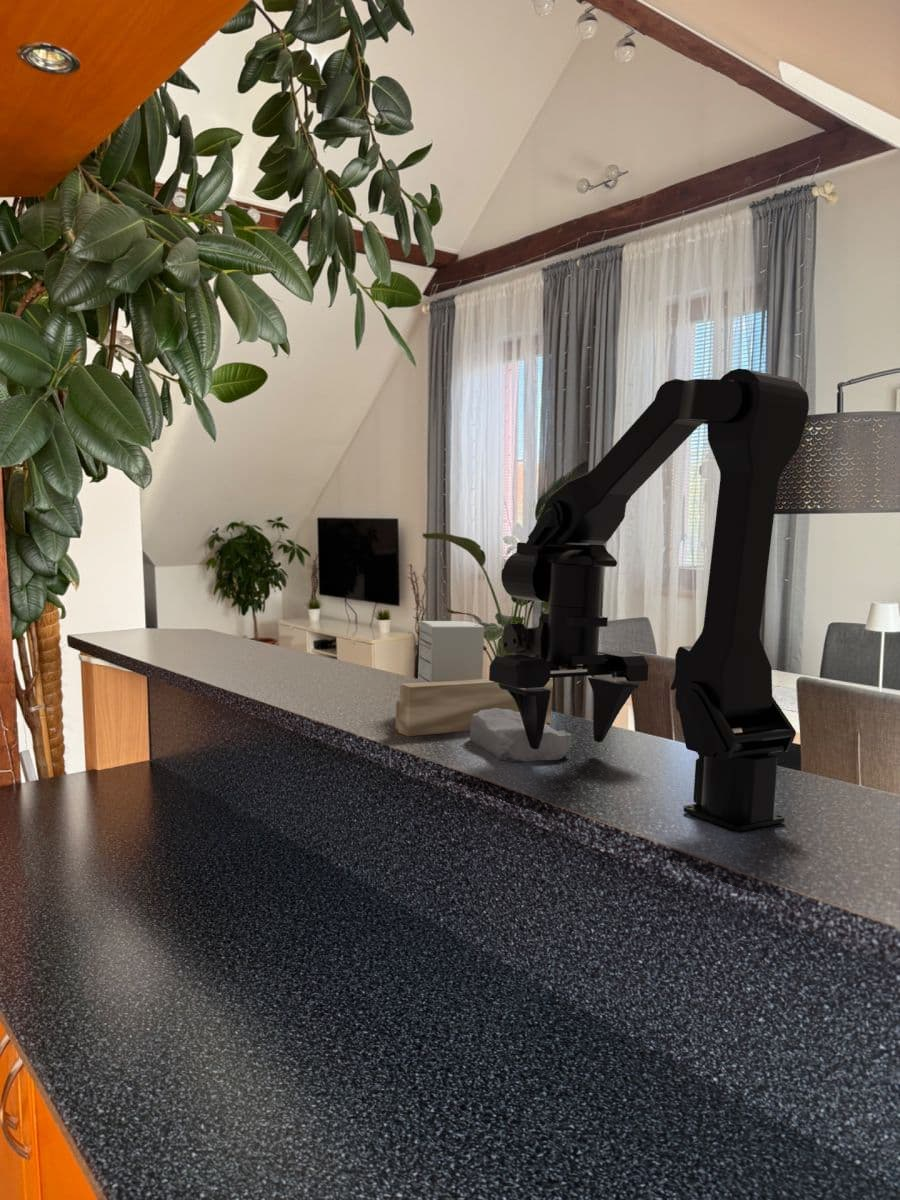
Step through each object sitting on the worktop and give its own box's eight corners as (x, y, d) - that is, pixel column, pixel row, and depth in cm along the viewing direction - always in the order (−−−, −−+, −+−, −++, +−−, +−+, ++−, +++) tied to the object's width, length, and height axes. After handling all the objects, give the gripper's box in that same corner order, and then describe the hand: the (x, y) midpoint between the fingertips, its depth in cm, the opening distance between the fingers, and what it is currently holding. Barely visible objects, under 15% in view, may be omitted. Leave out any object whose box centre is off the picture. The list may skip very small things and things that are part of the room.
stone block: (533, 751, 113) (460, 738, 110) (542, 714, 113) (469, 700, 110) (577, 780, 102) (498, 767, 99) (588, 739, 102) (509, 724, 99)
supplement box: (465, 708, 129) (469, 620, 129) (481, 719, 122) (485, 626, 121) (415, 709, 127) (418, 619, 126) (428, 720, 120) (432, 625, 119)
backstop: (550, 722, 122) (552, 678, 121) (408, 736, 110) (410, 687, 110) (530, 716, 125) (532, 673, 125) (390, 729, 114) (392, 681, 113)
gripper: (589, 600, 113) (583, 725, 114) (464, 600, 102) (458, 737, 103) (655, 608, 103) (647, 744, 104) (524, 608, 93) (516, 759, 94)
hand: (567, 745), depth 102 cm, fingers open, 9 cm apart
